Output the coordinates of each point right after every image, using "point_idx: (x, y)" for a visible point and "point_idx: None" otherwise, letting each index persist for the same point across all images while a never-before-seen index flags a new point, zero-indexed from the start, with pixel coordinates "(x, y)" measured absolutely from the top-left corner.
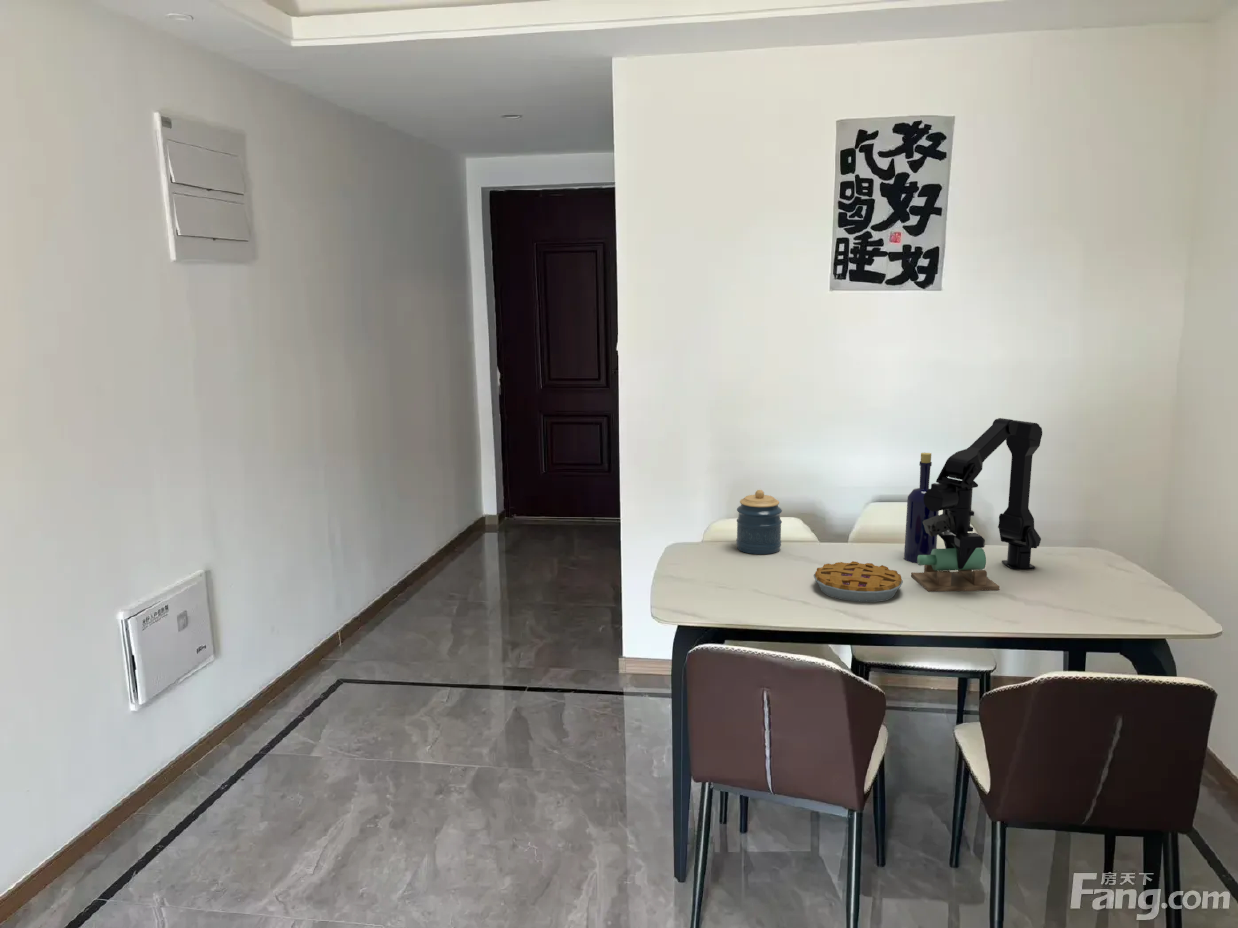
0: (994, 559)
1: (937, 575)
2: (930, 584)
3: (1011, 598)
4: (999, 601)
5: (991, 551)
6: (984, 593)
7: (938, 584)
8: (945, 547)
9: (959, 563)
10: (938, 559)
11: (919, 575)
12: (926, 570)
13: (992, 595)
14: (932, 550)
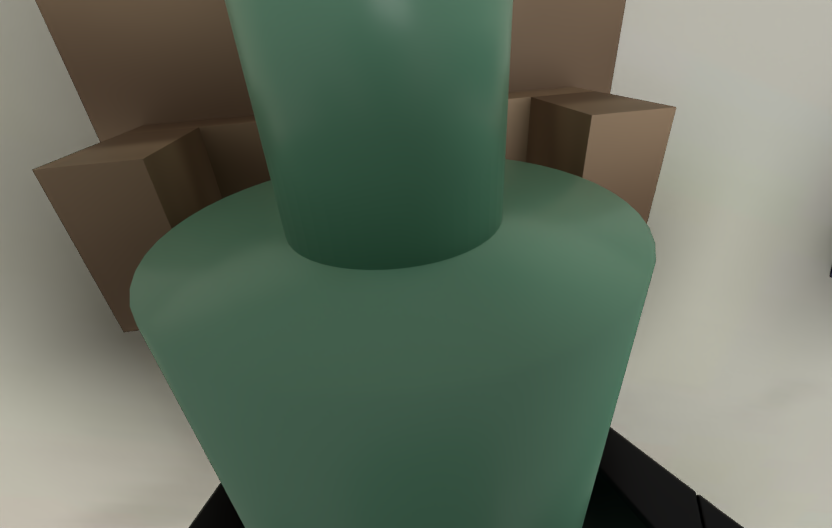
0: (724, 506)
1: (160, 144)
2: (183, 37)
3: (124, 512)
4: (23, 465)
5: (813, 506)
6: (179, 419)
7: (149, 126)
8: (712, 509)
9: (216, 497)
10: (164, 272)
11: (524, 7)
12: (538, 100)
13: (149, 448)
14: (628, 276)
